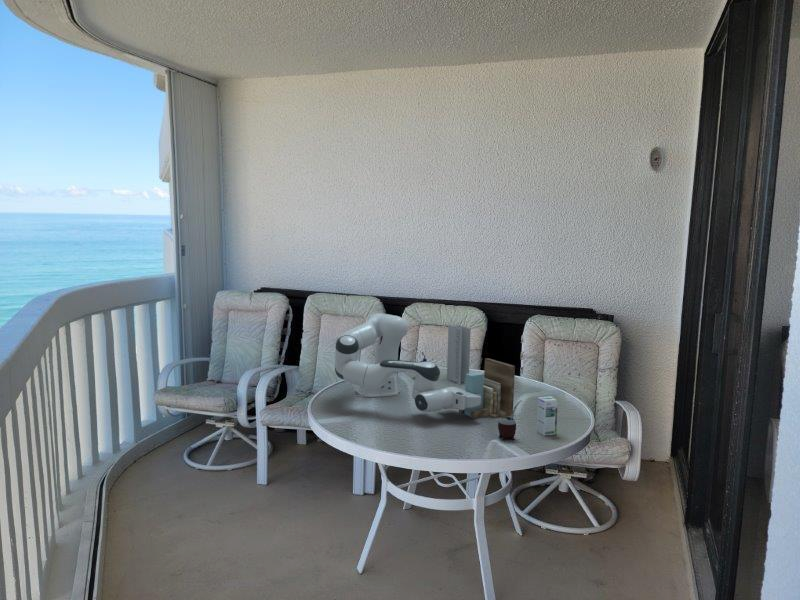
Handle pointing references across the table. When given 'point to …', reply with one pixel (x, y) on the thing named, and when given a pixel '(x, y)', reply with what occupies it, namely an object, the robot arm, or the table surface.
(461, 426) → the table surface
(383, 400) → the table surface
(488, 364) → the offcut rack
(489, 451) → the table surface
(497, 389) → the offcut stack
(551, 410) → the syrup box
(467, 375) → the light blue tall block
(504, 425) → the mate gourd
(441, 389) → the robot arm
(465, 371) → the brochure
